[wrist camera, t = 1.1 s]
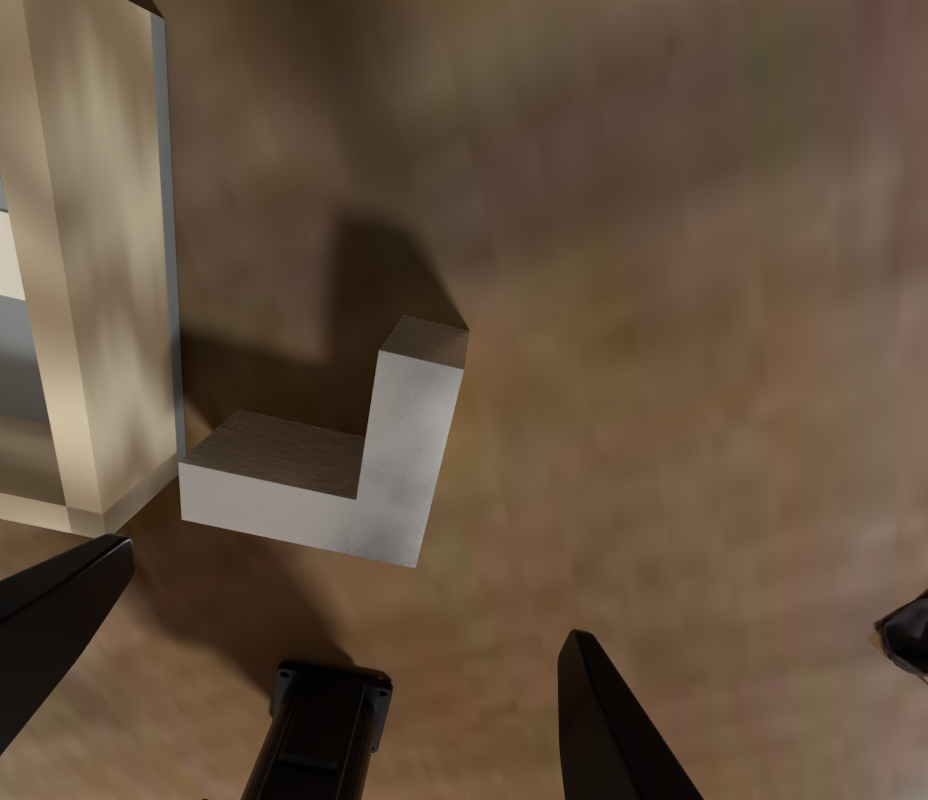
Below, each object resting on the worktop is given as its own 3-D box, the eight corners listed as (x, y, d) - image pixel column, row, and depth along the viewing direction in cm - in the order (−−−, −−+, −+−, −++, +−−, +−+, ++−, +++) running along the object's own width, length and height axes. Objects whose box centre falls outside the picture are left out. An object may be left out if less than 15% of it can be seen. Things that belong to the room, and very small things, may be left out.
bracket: (428, 499, 20) (415, 568, 16) (238, 458, 20) (181, 519, 16) (469, 330, 17) (464, 369, 13) (239, 275, 16) (168, 301, 13)
